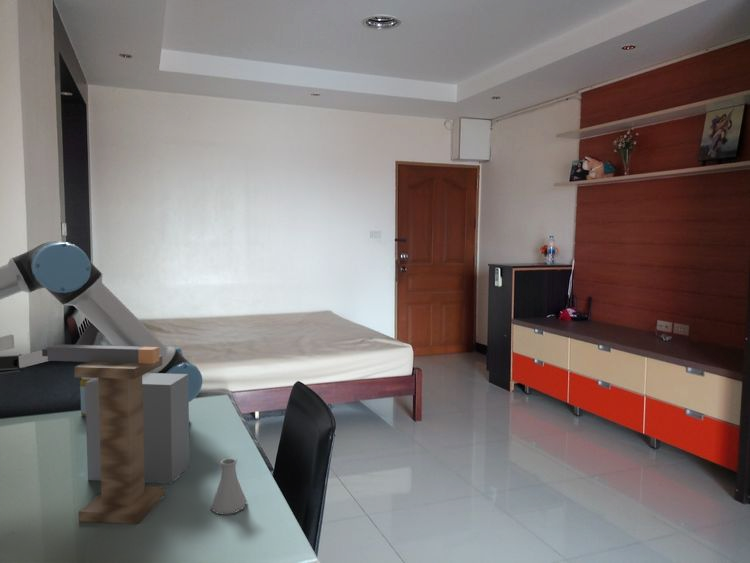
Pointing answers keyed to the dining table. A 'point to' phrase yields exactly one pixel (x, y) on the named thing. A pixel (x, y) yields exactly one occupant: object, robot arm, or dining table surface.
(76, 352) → the grey long bar
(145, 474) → the block
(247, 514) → the dining table surface
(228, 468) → the flask
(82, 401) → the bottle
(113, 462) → the stand
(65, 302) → the robot arm
